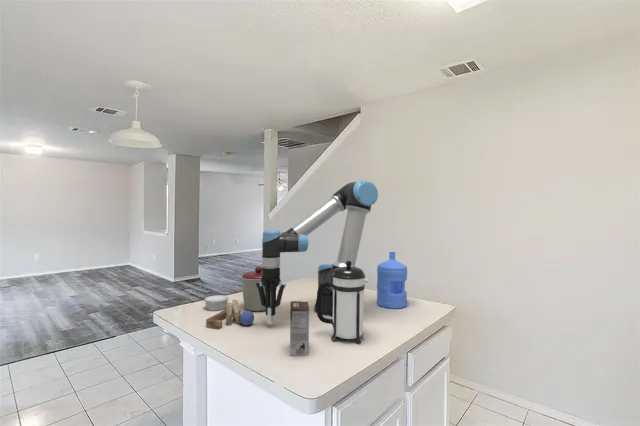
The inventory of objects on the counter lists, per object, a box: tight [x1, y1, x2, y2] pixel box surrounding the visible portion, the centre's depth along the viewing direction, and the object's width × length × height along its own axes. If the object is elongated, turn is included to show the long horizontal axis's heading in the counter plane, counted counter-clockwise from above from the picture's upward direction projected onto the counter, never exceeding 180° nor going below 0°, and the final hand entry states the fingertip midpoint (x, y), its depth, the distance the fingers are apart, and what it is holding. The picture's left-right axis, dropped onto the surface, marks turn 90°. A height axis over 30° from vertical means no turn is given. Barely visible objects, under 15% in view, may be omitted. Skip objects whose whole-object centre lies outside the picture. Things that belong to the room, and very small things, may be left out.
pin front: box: [231, 302, 242, 324], centre depth 138 cm, size 2×2×9 cm
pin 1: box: [225, 302, 233, 326], centre depth 136 cm, size 2×2×9 cm
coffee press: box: [316, 261, 370, 345], centre depth 123 cm, size 17×16×30 cm
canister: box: [239, 266, 271, 312], centre depth 159 cm, size 18×18×21 cm
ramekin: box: [204, 294, 229, 312], centre depth 159 cm, size 11×11×5 cm
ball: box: [240, 310, 255, 326], centre depth 136 cm, size 6×6×6 cm
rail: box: [205, 309, 242, 330], centre depth 139 cm, size 7×17×3 cm, turn 164°
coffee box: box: [289, 300, 310, 357], centre depth 111 cm, size 9×6×16 cm
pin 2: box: [232, 299, 239, 323], centre depth 141 cm, size 2×2×9 cm
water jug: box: [376, 251, 408, 310], centre depth 168 cm, size 16×16×28 cm
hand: (270, 322), depth 133 cm, fingers closed
